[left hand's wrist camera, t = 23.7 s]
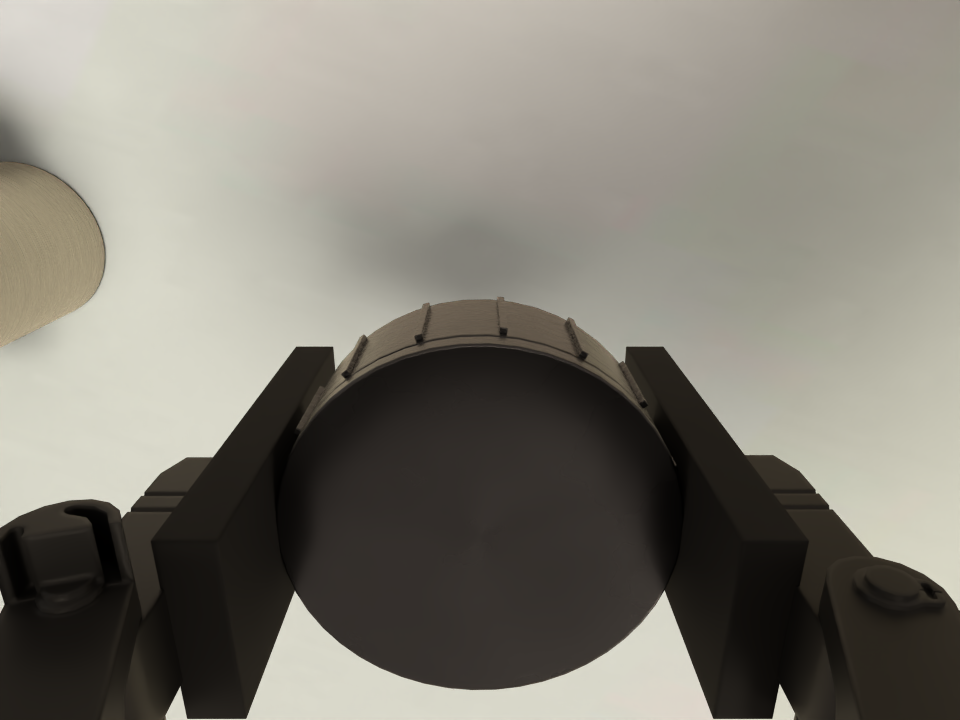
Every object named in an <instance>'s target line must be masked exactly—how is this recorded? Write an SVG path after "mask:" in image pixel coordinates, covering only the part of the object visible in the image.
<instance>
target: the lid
mask: <svg viewBox="0 0 960 720" xmlns="http://www.w3.org/2000/svg"><path fill="white" fill-rule="evenodd" d="M647 406H648V403H647V401H646V399H645V398H644V396H643V394H642V392H641V391H640V389H639V387H638V385H637V383H636V382H635V380H634V378H633V376H632V374H631V373H630V371H629V369H628V367H627V366H626V364H625V363H624V362H623V361H622V362H621V363H618V362H617V361H616V359H615V358H614V357H613V356H612V355H611V354H610V353H609V352H608V351H607V350H606V349H605V348H604V347H603V346H602V345H601V344H600V343H599V342H598V341H597V340H595V339H594V338H593V337H591V336H590V335H589V334H587V333H586V332H584V331H583V330H582V329H580V328H579V327H577V326H576V324H575V321H574V320H573V319H571V318H568V319H567V321H566V320H564V319H562V318H561V317H559V316H556V315H554V314H551V313H548V312H546V311H543V310H541V309H538V308H535V307H531V306H527V305H522V304H518V303H514V302H507V301H504V297H497V300H488V299H487V300H460V301H453V302H447V303H440V304H436V305H433V306H430V304H429V303H426V304H423V306H422V309H419V310H416V311H413V312H411V313H409V314H406V315H404V316H402V317H399V318H397V319H395V320H393V321H391V322H390V323H388V324H386V325H385V326H383V327H381V328H380V329H378V330H376V331H375V332H373V333H372V334H371V335H370V336H368V337H366V336H365V335H362V336H361V337H360V338H359V340H358V342H357V344H356V346H355V348H354V349H353V350H352V351H351V352H350V353H349V355H348V356H347V357H346V358H345V359H344V360H343V361H342V362H341V363H340V365H339V366H338V368H337V369H336V371H335V372H334V373H333V375H332V376H331V378H330V379H329V381H328V383H327V385H326V386H325V388H324V387H322V386H320V387H319V389H318V391H317V392H316V394H315V396H314V398H313V399H312V401H311V403H310V405H309V406H308V408H307V410H306V412H305V414H304V415H303V417H302V419H301V421H300V422H299V424H298V426H297V428H296V430H295V432H294V434H296V435H298V438H297V440H296V442H295V444H294V446H293V448H292V450H291V452H290V454H289V456H288V458H287V460H286V463H285V466H284V469H283V472H282V475H281V478H280V482H279V488H278V494H277V501H276V523H277V532H278V539H279V547H280V553H281V557H282V560H283V563H284V566H285V570H286V572H287V575H288V577H289V579H290V581H291V583H292V585H293V587H294V589H295V591H296V593H297V595H298V596H299V598H300V599H301V601H302V602H303V604H304V605H305V607H306V608H307V610H308V611H309V612H310V613H311V615H312V616H313V617H314V618H315V619H316V620H317V621H318V623H319V624H320V625H321V626H322V627H323V628H324V629H325V630H326V631H327V632H328V633H329V634H330V635H332V636H333V637H334V638H335V639H336V640H337V641H338V642H339V643H341V644H342V645H343V646H345V647H346V648H348V649H349V650H350V651H352V652H353V653H355V654H356V655H358V656H359V657H361V658H363V659H364V660H366V661H368V662H370V663H372V664H374V665H375V666H377V667H379V668H381V669H384V670H386V671H389V672H391V673H393V674H396V675H398V676H401V677H404V678H407V679H411V680H414V681H417V682H421V683H424V684H430V685H435V686H440V687H446V688H455V689H467V690H495V689H504V688H513V687H520V686H525V685H530V684H534V683H539V682H543V681H546V680H549V679H552V678H555V677H558V676H561V675H564V674H567V673H569V672H571V671H573V670H575V669H578V668H580V667H582V666H584V665H586V664H588V663H590V662H592V661H593V660H595V659H597V658H598V657H600V656H602V655H603V654H605V653H607V652H608V651H609V650H611V649H612V648H613V647H615V646H616V645H617V644H619V643H620V642H621V641H622V640H624V639H625V638H626V637H627V636H628V635H629V634H630V633H631V632H632V631H633V630H634V629H635V628H636V627H637V626H638V625H639V624H640V623H642V621H643V620H644V619H645V618H646V616H647V615H648V614H649V612H650V611H651V610H652V609H653V607H654V606H655V605H656V603H657V602H658V600H659V598H660V597H661V595H662V593H663V592H664V590H665V588H666V587H667V585H668V582H669V580H670V578H671V575H672V573H673V571H674V568H675V566H676V563H677V559H678V555H679V551H680V544H681V536H682V527H683V519H684V509H683V495H682V490H681V486H680V481H679V476H678V472H677V471H678V467H677V464H676V462H675V460H674V459H673V457H672V455H671V453H670V451H669V449H668V448H667V446H666V444H665V442H664V440H663V438H662V437H661V435H660V433H659V431H658V429H657V427H656V426H655V424H654V422H653V420H652V418H651V417H650V415H649V413H648V411H647V409H646V407H647Z"/></svg>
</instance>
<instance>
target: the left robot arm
mask: <svg viewBox="0 0 960 720" xmlns="http://www.w3.org/2000/svg"><path fill="white" fill-rule="evenodd" d="M625 364H626V366H627V367H628V369H629V371H630V373H631V374H632V376H633V378H634V380H635V382H636V383H637V385H638V387H639V389H640V391H641V392H642V394H643V396H644V398H645V399H646V401H647V403H648V406H647V407H646V409H647V411H648V413H649V415H650V417H651V418H652V420H653V422H654V424H655V426H656V427H657V429H658V431H659V433H660V435H661V437H662V438H663V440H664V442H665V444H666V446H667V448H668V449H669V451H670V453H671V455H672V457H673V459H674V460H675V462H676V464H677V467H678V471H677V472H678V476H679V481H680V486H681V490H682V495H683V509H684V519H683V527H682V536H681V544H680V551H679V555H678V559H677V563H676V566H675V568H674V571H673V573H672V575H671V578H670V580H669V582H668V585H667V587H666V588H665V592H666V595H667V598H668V600H669V603H670V606H671V608H672V611H673V613H674V616H675V619H676V621H677V624H678V627H679V629H680V632H681V635H682V637H683V640H684V642H685V645H686V648H687V650H688V653H689V656H690V658H691V661H692V664H693V666H694V669H695V672H696V674H697V677H698V679H699V682H700V685H701V687H702V690H703V693H704V695H705V698H706V701H707V703H708V706H709V709H710V711H711V714H712V716H713V719H772V718H773V713H774V708H775V703H776V698H777V693H778V689H779V684H780V685H781V687H782V689H783V691H784V693H785V695H786V697H787V699H788V700H789V702H790V704H791V706H792V708H793V710H794V712H795V717H794V720H960V610H958V608H957V606H956V604H955V602H954V601H953V600H952V599H951V597H950V596H949V595H948V594H947V592H946V591H945V590H944V589H943V588H942V587H941V586H939V585H938V584H937V583H935V582H934V581H932V580H931V579H930V578H928V577H927V576H926V575H924V574H922V573H920V572H918V571H916V570H913V569H911V568H909V567H907V566H905V565H903V564H900V563H896V562H893V561H889V560H885V559H881V558H878V557H873V556H872V554H871V553H870V552H869V551H868V550H867V549H866V548H865V546H864V545H863V544H862V543H861V542H860V541H859V539H858V538H857V537H856V536H855V535H854V534H853V533H852V531H851V530H850V529H849V528H848V527H847V526H846V524H845V523H844V522H843V521H842V520H841V519H840V518H839V516H838V515H837V514H836V513H835V512H834V511H833V510H830V509H829V505H828V504H827V503H826V501H825V500H824V499H823V498H822V497H821V496H820V494H816V492H815V491H816V490H815V489H814V488H813V486H812V485H811V484H810V483H809V482H808V481H807V479H806V478H805V477H804V476H803V475H802V474H801V473H800V471H798V470H797V469H795V468H793V467H792V466H790V465H788V464H787V463H785V462H783V461H782V460H780V459H778V458H777V457H775V456H773V455H744V454H743V452H742V451H741V450H740V448H739V447H738V446H737V444H736V443H735V442H734V440H733V439H732V438H731V436H730V435H729V434H728V432H727V431H726V430H725V428H724V427H723V426H722V424H721V423H720V422H719V420H718V419H717V418H716V416H715V415H714V414H713V412H712V411H711V410H710V408H709V407H708V406H707V404H706V403H705V402H704V400H703V399H702V398H701V396H700V395H699V394H698V392H697V391H696V390H695V388H694V387H693V386H692V384H691V383H690V382H689V380H688V379H687V378H686V376H685V375H684V374H683V372H682V371H681V370H680V368H679V367H678V366H677V364H676V363H675V362H674V360H673V359H672V358H671V356H670V355H669V354H668V352H667V351H666V350H665V348H664V347H626V358H625ZM334 372H335V363H334V351H333V347H296V348H295V349H294V350H293V352H292V353H291V354H290V356H289V357H288V358H287V360H286V361H285V362H284V364H283V365H282V366H281V368H280V369H279V370H278V372H277V373H276V374H275V376H274V377H273V378H272V380H271V381H270V382H269V384H268V385H267V386H266V388H265V389H264V390H263V392H262V393H261V394H260V396H259V397H258V398H257V400H256V401H255V402H254V404H253V405H252V406H251V408H250V409H249V410H248V412H247V413H246V414H245V416H244V417H243V418H242V420H241V421H240V422H239V424H238V425H237V426H236V428H235V429H234V430H233V432H232V433H231V434H230V436H229V437H228V438H227V440H226V441H225V442H224V444H223V445H222V446H221V448H220V449H219V450H218V452H217V453H216V454H215V456H214V457H187V458H185V459H184V460H182V461H180V462H179V463H177V464H175V465H174V466H172V467H171V468H169V469H167V470H166V471H164V472H162V473H161V474H160V475H159V476H158V477H157V478H156V479H155V481H154V482H153V483H152V484H151V485H150V486H149V488H148V489H147V490H146V491H145V492H144V493H145V494H144V496H141V497H140V498H139V499H138V500H137V502H136V503H135V504H134V505H133V506H132V507H131V512H127V513H126V514H125V516H124V517H123V518H122V519H121V514H120V510H118V509H117V508H116V507H115V506H113V505H112V504H111V503H109V502H103V501H98V500H93V499H89V500H71V501H65V502H61V503H57V504H52V505H48V506H44V507H41V508H39V509H36V510H34V511H31V512H29V513H26V514H24V515H21V516H19V517H17V518H16V519H14V520H12V521H11V522H9V523H8V524H6V525H4V526H3V527H1V528H0V591H1V594H2V597H3V600H4V604H5V605H4V607H3V609H2V611H1V613H0V720H166V717H165V715H166V713H167V711H168V709H169V707H170V705H171V703H172V701H173V699H174V697H175V695H176V693H177V691H178V690H179V688H180V686H181V691H182V696H183V701H184V705H185V710H186V715H187V719H246V718H247V715H248V713H249V710H250V707H251V705H252V702H253V699H254V697H255V694H256V692H257V689H258V686H259V684H260V681H261V678H262V676H263V673H264V670H265V668H266V665H267V662H268V660H269V657H270V655H271V652H272V649H273V647H274V644H275V641H276V639H277V636H278V633H279V631H280V628H281V626H282V623H283V620H284V618H285V615H286V612H287V610H288V607H289V604H290V602H291V599H292V596H293V594H294V591H295V589H294V587H293V585H292V583H291V581H290V579H289V577H288V575H287V572H286V570H285V566H284V563H283V560H282V557H281V553H280V547H279V539H278V532H277V523H276V501H277V494H278V488H279V482H280V478H281V475H282V472H283V469H284V466H285V463H286V460H287V458H288V456H289V454H290V452H291V450H292V448H293V446H294V444H295V442H296V440H297V438H298V435H296V434H294V432H295V430H296V428H297V426H298V424H299V422H300V421H301V419H302V417H303V415H304V414H305V412H306V410H307V408H308V406H309V405H310V403H311V401H312V399H313V398H314V396H315V394H316V392H317V391H318V389H319V387H320V386H322V387H324V388H325V386H326V385H327V383H328V381H329V379H330V378H331V376H332V375H333V373H334Z"/></svg>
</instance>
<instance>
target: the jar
mask: <svg viewBox="0 0 960 720" xmlns="http://www.w3.org/2000/svg"><path fill="white" fill-rule="evenodd" d="M104 262H105V253H104V245H103V239H102V236H101V233H100V230H99V227H98V225H97V223H96V220H95V218H94V217H93V215H92V213H91V211H90V210H89V208H88V207H87V206H86V204H85V203H84V202H83V200H82V199H81V198H80V197H79V196H78V195H77V194H76V193H75V192H74V191H73V190H72V189H71V188H70V187H69V186H68V185H66V184H65V183H64V182H62V181H61V180H59V179H58V178H57V177H55V176H53V175H51V174H50V173H48V172H46V171H44V170H41V169H39V168H37V167H34V166H31V165H27V164H23V163H17V162H0V347H2V346H4V345H6V344H8V343H10V342H12V341H14V340H16V339H18V338H21V337H23V336H25V335H27V334H29V333H31V332H33V331H35V330H37V329H39V328H41V327H43V326H45V325H47V324H49V323H51V322H53V321H55V320H57V319H59V318H61V317H63V316H65V315H67V314H69V313H71V312H73V311H75V310H76V309H78V308H80V307H81V306H82V305H84V304H85V303H86V302H87V301H88V300H89V299H90V298H91V297H92V295H93V294H94V293H95V291H96V289H97V288H98V286H99V283H100V281H101V278H102V275H103V270H104Z"/></svg>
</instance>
